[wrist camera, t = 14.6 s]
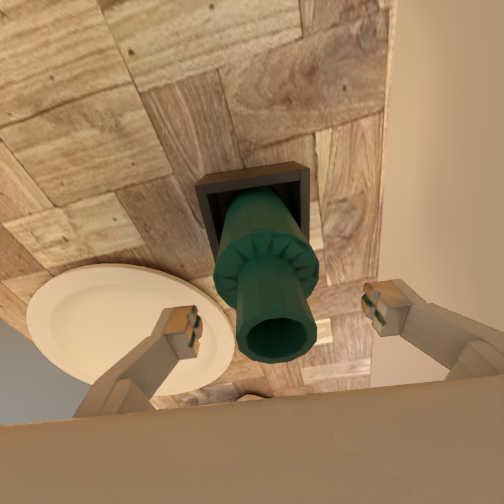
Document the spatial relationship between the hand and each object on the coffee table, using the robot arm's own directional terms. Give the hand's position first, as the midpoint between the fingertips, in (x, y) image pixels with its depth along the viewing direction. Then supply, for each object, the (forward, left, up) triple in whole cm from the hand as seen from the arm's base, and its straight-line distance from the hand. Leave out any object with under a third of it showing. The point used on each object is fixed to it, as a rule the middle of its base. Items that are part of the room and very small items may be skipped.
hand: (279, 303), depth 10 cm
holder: (0, 0, -14) cm, 14 cm away
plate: (+20, +17, -15) cm, 30 cm away
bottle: (0, 0, -14) cm, 14 cm away
